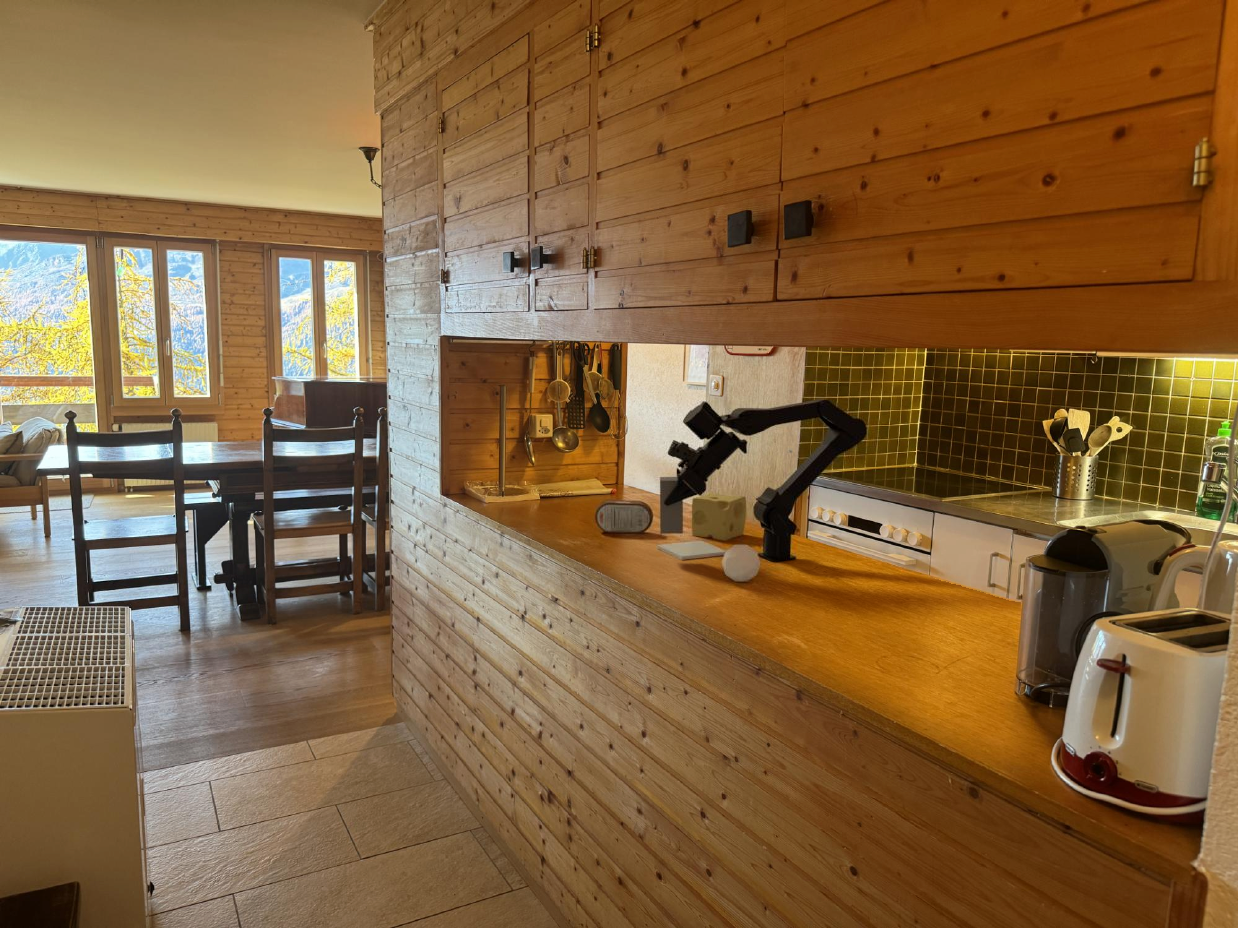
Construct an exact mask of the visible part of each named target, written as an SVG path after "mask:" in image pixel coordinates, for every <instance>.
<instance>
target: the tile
mask: <svg viewBox="0 0 1238 928" xmlns="http://www.w3.org/2000/svg"><path fill="white" fill-rule="evenodd" d="M656 548H657V549H658V550H659V551H662V552H664V553H665V554H669V555H670V556H672V557H674V558H676V559H678V560H680V561H682V560H683V561H684V560H692V559H699V558H700V559H701V558H709V557H718V556H724V554H725V551H726V550H725V549H722V548H720V547H717V546H715V545H713V544H710V543H707V542H706V541H703V540H694V541H684V542H675V543H673V542H672V543H664V544H657V547H656Z"/></svg>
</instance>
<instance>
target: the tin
mask: <svg viewBox="0 0 1238 928" xmlns="http://www.w3.org/2000/svg"><path fill="white" fill-rule="evenodd" d="M653 520H654V514H653V510H652V508H651V506H649V504H648V503H646V502H644V501H641V500H625V499H624V500H619V499H608V500H604V501H602V502H601V503H600V504H599V505H598V506H597V508H596V510H595V513H594V521H595V524H596V525H597V527H598V528H599V529H600V531H603V532H605V533H609V534H631V535H632V534H636V535H637V534H643V533H645V532H646V531H648V530H649V529H650V527H651V526H652V523H653Z"/></svg>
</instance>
